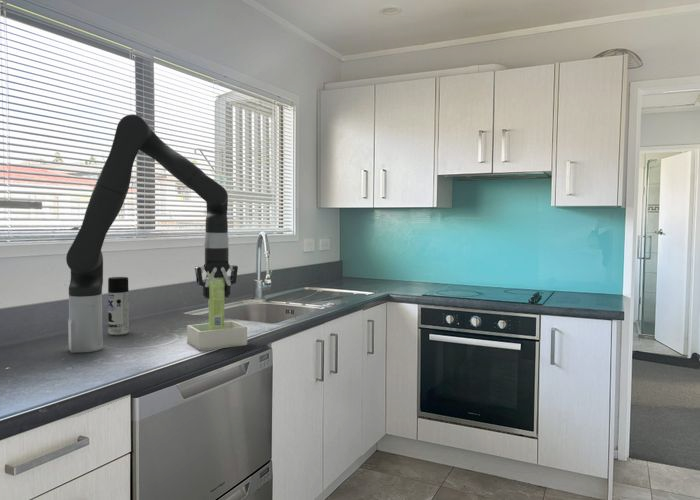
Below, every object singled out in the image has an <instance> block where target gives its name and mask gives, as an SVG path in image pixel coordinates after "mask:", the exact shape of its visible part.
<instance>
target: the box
mask: <svg viewBox="0 0 700 500" xmlns="http://www.w3.org/2000/svg"><path fill="white" fill-rule="evenodd" d="M186 338H187V340H186V343H187V344H188V345H189V346H190V347H192V348H193V349H196V350H197V351H198V352H202V350H204V351H210V350H209V349H211V350H218V349H225V348H226V349H227V348H233V347H241V346H247V345H248V326H246V325H244V324H242V323H240V322H237V321H235V320H227V321H225V320H224V329H217V330H209V322H206V323H198V324H196V323H195V324H189V325H188V324H187V325H186Z"/></svg>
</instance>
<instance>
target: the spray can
mask: <svg viewBox="0 0 700 500" xmlns="http://www.w3.org/2000/svg"><path fill="white" fill-rule="evenodd" d="M107 279H108V280H107V287H108V288H107V294H108V295H107V303H108V304H107V309H108V310H107V311H108V313H107V318H108V321H107V322H108V324H107V325H108V328H107V331H108V335H109V336H123V335H127V334H129V329H130V327H129V320H130V319H129V316H130V315H129V312H130V311H129V307H130V306H129V295H130V294H129V277H128V276H112V277H111V276H110V277H108V278H107Z"/></svg>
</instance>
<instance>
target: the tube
mask: <svg viewBox="0 0 700 500" xmlns="http://www.w3.org/2000/svg"><path fill="white" fill-rule="evenodd" d="M206 274H207V276H208V277H209V276H210V273H209V271H208V272H206ZM223 278H224V276H223V277H222V278H220V277H217V278H214V277H213V279H212V281H209V286H208V287H209V299H207V301H208V306H207V307H208V323H209V330H217V329H224V322H225V302H226V301H225V298H226V297H225V280H224V279H223Z"/></svg>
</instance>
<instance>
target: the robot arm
mask: <svg viewBox="0 0 700 500" xmlns="http://www.w3.org/2000/svg"><path fill="white" fill-rule="evenodd" d="M139 152H141V153H143V154H145V155H147V156H148V157H150V158H151V159H153V160H154V161H156V162H157V163H158V164H159V165H160V166H161V167H163V168H164V169H165V170H166V171H167V172H168V173H169V174H171V175H172V176H173V177H174V178H175V179H177V180H178V181H179V182H180V183H182V184H183V185H185V186H186V187H187V188H188V189H190V190H192V191H193V192H194V193H196V195H198V196H199V197H200V198H201V199H202V200H204V201H205V202H206V216H205V217H206V218H205V234H204V235H205V236H204V244H203V245H204V264H203V266H195V268H194V272H195V280H196V285H198V286H201V287H202V297H204V299H206V300H208V299H209V287H208V286H209V281H212V279H213V277H214V278H217V277H220V278H222V277H223V276H224V278H223V279H224V280H225V298H229V296H230V295H231V286H232V285H233V284H237V279H238V268H239V266H237V265H235V264H233V265H230V263H229V254H230V253H229V234H228V233H229V231H228V229H229V228H228V227H229V225H228V222H229V221H228V216H227V215H228V206H229V205H228V203H229V202H228V201H229V196H228V191H227V190H226V188H225V187H223V186H222V184H220V183H218V182H217V181H216V180H215V179H212V178H211V177H209V176H208V174H206V173H205V172H204V171H203V170H202V169H200V168H199V167H198V166H197V165H196V164H194V163H193V162H192V161H191V160H189V159H188V158H186V157H185V156H183V155H182V154H181V153H179V152H177V151H176V150H174V149H173V148H172V147H171V146H169V145H167V144H166V143H165V142H164V141H163V140H162V139H161V138H160V137H159V136H158V135H157V134H156V133H155V132H154V131H153V129H151V127H150V125H149V123H148V122H147V121H146V120H145V119H144V117H142V116H140V115H138V114H133V113H130V114H126V115H125V116H123V117H121V119H120V120H119V121H118V124H117V126H116V129H115V134H114V138H113V141H112V145H111V148H110V151H109V154H108V156H107V158H106V160H105V162H104V164H103V167H102V169H101V171H100V174H99V175H98V177H97V180H96V183H95V185H94V188H93V190H92V192H91V194H90V195H91V196H90V198H89V201H88V203H87V206H86V209H85V214H84V217H83V219H82V223H81V225H80V228H79V230H78V232H77V234H76V236H75V238H74V240H73V241H72V243H71V244H70V245H71V246H70V247H69V249H68V251H67V252H66V258H65V259H66V265H67V266H68V268H69V269H70V281H69V286H68V319H67V324H68V325H67V326H68V330H67V331H68V333H67V335H68V350H69V352H70V353H71V354H74V353H78V354H79V353H91V352H96V351H97V352H98V351H99V350H103V347H104V345H103V343H104V339H103V284H104V257H103V253H102V248H103V245H104V242H105V239H106V236H107V233H108V231H109V230H110V228H111V227H112V225H113V224H114V222H115V220H116V219H117V217H118V215H119V214H120V211H121V210H122V208H123V205H124V203H125V200H126V198H127V195H128V192H129V188H130V184H131V179H132V172H133V166H134V162H135V160H136V158H137V155H138V154H139ZM204 271H205V273H206V275H205V276H204V278H203V273H204ZM208 271H209V273H210V276H209V277H208V276H207V272H208ZM228 271H230V277H229V276H228V273H227V272H228ZM203 279H204V280H203Z"/></svg>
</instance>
